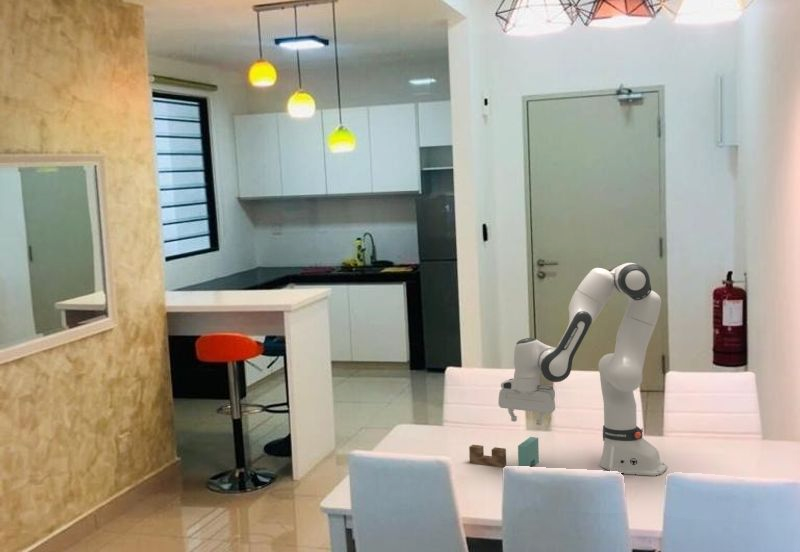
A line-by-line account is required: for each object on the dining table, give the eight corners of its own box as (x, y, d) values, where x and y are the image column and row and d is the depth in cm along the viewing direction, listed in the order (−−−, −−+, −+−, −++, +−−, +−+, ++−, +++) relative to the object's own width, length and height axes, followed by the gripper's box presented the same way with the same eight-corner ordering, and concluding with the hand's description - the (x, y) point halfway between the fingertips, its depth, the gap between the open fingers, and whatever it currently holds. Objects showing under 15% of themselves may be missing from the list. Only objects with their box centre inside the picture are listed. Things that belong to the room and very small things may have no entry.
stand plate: (506, 464, 306) (505, 448, 306) (503, 467, 304) (502, 450, 303) (473, 460, 313) (472, 444, 312) (469, 462, 310) (469, 446, 310)
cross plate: (530, 461, 310) (530, 436, 309) (538, 462, 308) (538, 437, 307) (518, 470, 299) (517, 445, 298) (526, 472, 298) (526, 446, 297)
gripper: (557, 385, 298) (557, 424, 300) (503, 379, 309) (503, 417, 310) (551, 388, 293) (551, 428, 294) (496, 383, 303) (496, 421, 304)
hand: (526, 422), depth 302 cm, fingers open, 8 cm apart
